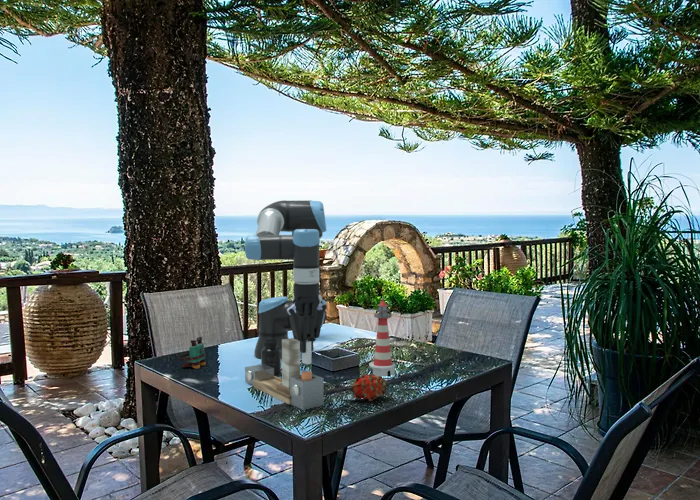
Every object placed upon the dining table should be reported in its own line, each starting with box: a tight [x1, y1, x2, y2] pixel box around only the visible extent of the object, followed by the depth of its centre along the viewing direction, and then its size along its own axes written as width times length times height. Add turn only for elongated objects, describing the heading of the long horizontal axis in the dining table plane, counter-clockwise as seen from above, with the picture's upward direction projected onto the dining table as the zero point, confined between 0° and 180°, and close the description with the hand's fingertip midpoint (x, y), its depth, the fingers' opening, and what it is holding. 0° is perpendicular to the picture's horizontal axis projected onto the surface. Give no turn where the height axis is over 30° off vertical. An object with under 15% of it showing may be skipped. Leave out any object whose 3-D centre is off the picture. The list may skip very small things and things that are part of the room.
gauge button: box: [301, 370, 313, 380], centre depth 159 cm, size 3×3×6 cm
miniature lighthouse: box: [368, 297, 396, 376], centre depth 190 cm, size 9×9×30 cm
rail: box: [253, 376, 291, 405], centre depth 170 cm, size 8×22×2 cm, turn 37°
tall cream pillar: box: [276, 337, 301, 395], centre depth 165 cm, size 6×8×16 cm
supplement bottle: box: [260, 340, 282, 377], centre depth 192 cm, size 7×7×12 cm
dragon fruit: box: [348, 372, 388, 402], centre depth 163 cm, size 8×8×12 cm
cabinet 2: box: [289, 373, 325, 411], centre depth 159 cm, size 8×7×8 cm
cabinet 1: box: [244, 364, 274, 387], centre depth 182 cm, size 8×7×5 cm
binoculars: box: [177, 336, 207, 370], centre depth 203 cm, size 9×11×10 cm
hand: (306, 363), depth 159 cm, fingers closed
